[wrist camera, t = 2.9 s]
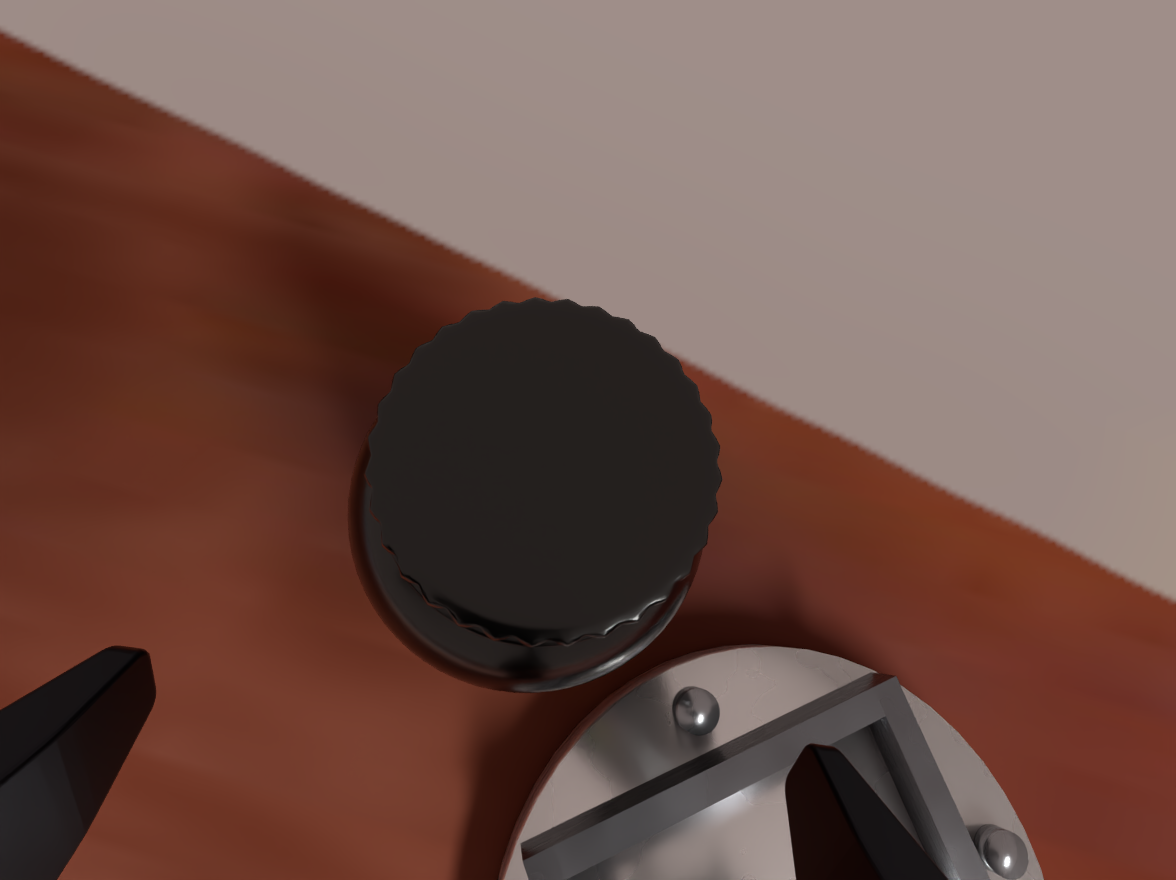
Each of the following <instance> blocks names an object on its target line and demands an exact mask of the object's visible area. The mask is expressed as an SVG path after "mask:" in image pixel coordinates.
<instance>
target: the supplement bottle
mask: <svg viewBox="0 0 1176 880" xmlns="http://www.w3.org/2000/svg"><path fill="white" fill-rule="evenodd" d="M377 416H378V417H377V418H376V420H375V422H374V423H373V425H372V427H371V428H370V430H369V432H368V434H367V436H366V438H365V440H364V442H363V444H362V447H361V449H360V452H359V455H358V458H357V460H356V463H355V467H354V471H353V475H352V479H351V485H350V492H349V499H348V530H349V540H350V546H351V552H352V556H353V560H354V563H355V567H356V570H357V574H358V576H359V579H360V581H361V584H362V586H363V589H364V591H365V593H366V595H367V596H368V598H369V600H370V602H371V604H372V606H373V607H374V609H375V610H376V612H377V613H378V615H379V616H380V618H381V619H382V621H383V622H384V623H385V625H386V626H387V627H388V628H389V629H390V631H391V632H392V633H393V634H394V635H395V637H396V638H398V639H399V640H400V641H401V642H402V643H403V644H404V645H405V646H406V647H407V648H408V649H409V650H410V651H412V652H413V653H414V654H415V655H417V656H418V657H419V658H421V659H422V660H423V661H425V662H426V663H428V664H429V665H431V666H433V667H434V668H436V669H438V670H439V671H441V672H443V673H445V674H447V675H449V676H452V677H454V678H456V679H458V680H461V681H464V682H466V683H469V684H472V685H475V686H479V687H483V688H487V689H492V690H497V691H505V692H513V693H537V692H549V691H555V690H560V689H566V688H570V687H574V686H577V685H580V684H584V683H587V682H589V681H592V680H594V679H597V678H599V677H601V676H604V675H606V674H608V673H609V672H611V671H613V670H615V669H617V668H619V667H620V666H622V665H623V664H625V663H626V662H628V661H629V660H631V659H632V658H634V657H635V656H636V655H638V654H639V653H640V652H641V651H642V650H643V649H645V648H646V647H647V646H648V645H649V644H650V643H651V642H652V641H653V640H654V639H655V638H656V637H657V636H658V635H659V634H660V633H661V632H662V631H663V630H664V628H665V627H666V626H667V624H668V623H669V622H670V621H671V619H672V618H673V617H674V615H675V614H676V612H677V610H678V609H679V607H680V606H681V604H682V603H683V601H684V599H685V597H686V595H687V593H688V591H689V589H690V587H691V585H692V582H693V580H694V577H695V575H696V572H697V569H698V566H699V562H700V559H701V555H702V550H703V548H704V547H705V546H706V545H707V540H708V525H709V524H710V523H711V522H712V520H713V519H714V518H715V516H716V514H717V513H718V507H717V501H716V493H717V491H718V489H719V487H720V484H721V482H722V476H721V472H720V469H719V467H718V464H717V458H718V456H719V451H720V445H719V443H718V441H717V439H716V437H715V436H714V434H713V433H712V431H711V425H712V417H711V414H710V412H709V411H708V410H707V408H706V407H705V406H704V405H703V404H702V403H701V402H700V395H699V391H698V387H697V385H696V384H695V383H694V382H693V381H692V380H691V379H689V378H688V377H687V376H686V375H684V373H683V370H682V366H681V364H680V362H679V360H678V359H677V358H675V357H674V356H672V355H670V354H669V353H667V352H665V351H664V350H663V349H662V347H661V345H660V343H659V342H658V340H657V339H656V338H655V337H653V336H651V335H649V334H646V333H643V332H640V331H639V330H638V329H636V327H635V325H634V324H633V323H632V322H631V321H630V320H629V319H624V318H619V317H613V316H611V315H610V314H609V313H607V312H606V311H605V310H603V309H602V308H600V307H595V306H587V307H585V306H584V307H583V306H580V305H578V304H577V303H575V302H573V301H571V300H569V299H565V300H558V301H554V302H550V301H546V300H544V299H540V298H536V297H535V298H531V299H528V300H526V301H524V302H521V303H514V302H508V301H502V302H500V303H499V304H497V305H495V306H494V307H492V308H491V309H489V310H476V311H471V312H470V313H468V314H467V315H466V316H465V317H464V318H463V319H462V320H461V321H460V322H458V323H455V324H449V325H446V326H443V327H442V328H441V329H440V330H439V331H438V333H437V334H436V336H435V337H434V339H433V340H432V341H429V342H427V343H425V344H423V345H421V346H419V347H417V348H416V349H415V351H414V353H413V355H412V358H411V360H410V363H409V364H408V365H407V366H405V367H403V368H401V369H400V370H399V371H398V372H396V373H395V374H394V377H393V381H392V387H391V391H390V392H389V394H388V395H386V396H385V397H384V398H383V399H382V400H381V401H380V403H379V404H378V410H377Z"/></svg>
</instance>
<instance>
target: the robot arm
mask: <svg viewBox="0 0 1176 880" xmlns="http://www.w3.org/2000/svg"><path fill="white" fill-rule="evenodd" d="M155 698H156V686H155V680H154V675H153V670H152V664H151V659H150V655H149V653H148V652H147V651H146V650H144V649H140V648H133V647H126V646H111V647H108V648H105V649H104V650H102V651H100V652H98V653H96V654H95V655H93V656H91V657H90V658H88V659H86V660H85V661H83V662H81V663H79V664H78V665H76V666H74V667H73V668H71V669H69V670H68V671H66V672H64V673H62V674H61V675H59V676H57V677H56V678H54V679H52V680H51V681H49V682H47V683H45V684H44V685H42V686H40V687H39V688H37V689H35V690H34V691H32V692H30V693H28V694H27V695H25V696H23V697H22V698H20V699H18V700H17V701H15V702H13V703H11V704H10V705H8V706H6V707H5V708H3V709H1V710H0V880H57V879H58V877H59V876H60V874H61V872H62V871H63V869H64V868H65V866H66V865H67V863H68V862H69V860H70V859H71V857H72V855H73V854H74V852H75V851H76V849H77V847H78V846H79V844H80V843H81V841H82V839H83V838H84V836H85V834H86V833H87V831H88V829H89V827H90V826H91V824H92V822H93V820H94V818H95V817H96V815H97V813H98V811H99V809H100V807H101V805H102V803H103V802H104V800H105V798H106V796H107V794H108V792H109V790H110V788H111V786H112V784H113V782H114V781H115V779H116V777H117V775H118V773H119V771H120V769H121V767H122V765H123V763H124V761H125V760H126V758H127V756H128V754H129V752H130V750H131V748H132V746H133V744H134V742H135V740H136V739H137V737H138V735H139V733H140V731H141V729H142V727H143V725H144V723H145V721H146V719H147V718H148V716H149V714H150V712H151V710H152V707H153V705H154V702H155ZM785 798H786V806H787V813H788V821H789V829H790V837H791V845H792V853H793V861H794V868H795V876H796V880H948V878H947V877H946V876H945V875H944V874H943V872H942V871H941V870H940V869H939V868H938V866H937V865H936V864H935V863H934V862H933V861H932V859H931V858H930V857H929V856H928V855H927V853H926V852H925V851H924V850H923V849H922V847H921V846H920V845H919V844H918V843H917V841H916V840H915V839H914V838H913V837H912V836H911V834H910V833H909V832H908V831H907V830H906V828H905V827H904V826H903V825H902V824H901V822H900V821H899V820H898V819H897V818H896V816H895V815H894V814H893V813H892V812H891V810H890V809H889V808H888V807H887V806H886V805H885V803H884V802H883V801H882V800H881V799H880V797H879V796H878V795H877V794H876V793H875V791H874V790H873V789H872V788H871V787H870V785H869V784H868V783H867V782H866V781H865V780H864V778H863V777H862V776H861V775H860V774H859V772H858V771H857V770H856V769H855V768H854V766H853V765H852V764H851V763H850V762H849V760H848V759H847V758H846V757H845V756H844V755H843V753H842V752H841V751H839V750H838V749H837V748H835V747H833V746H828V745H821V744H814V743H810V744H808V745H806V746H805V747H804V748H803V750H802V752H801V753H800V755H799V757H798V758H797V760H796V761H795V763H794V765H793V766H792V768H791V770H790V771H789V773H788V775H787V778H786V782H785Z"/></svg>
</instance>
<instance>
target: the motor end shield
mask: <svg viewBox="0 0 1176 880" xmlns="http://www.w3.org/2000/svg"><path fill="white" fill-rule="evenodd" d="M810 743H814V744H821V745H828V746H833V747H835V748H837V749H838V750H839V751H841V752H842V753H843V755H844V756H845V757H846V758H847V759H848V760H849V762H850V763H851V764H852V765H853V766H854V768H855V769H856V770H857V771H858V772H859V774H860V775H861V776H862V777H863V778H864V780H865V781H866V782H867V783H868V784H869V785H870V787H871V788H872V789H873V790H874V791H875V793H876V794H877V795H878V796H879V797H880V799H881V800H882V801H883V802H884V803H885V805H886V806H887V807H888V808H889V809H890V810H891V812H892V813H893V814H894V815H895V816H896V818H897V819H898V820H899V821H900V822H901V824H902V825H903V826H904V827H905V828H906V830H907V831H908V832H909V833H910V834H911V836H912V837H913V838H914V839H915V840H916V841H917V843H918V844H919V845H920V846H921V847H922V849H923V850H924V851H925V852H926V853H927V855H928V856H929V857H930V858H931V859H932V861H933V862H934V863H935V864H936V865H937V866H938V868H939V869H940V870H941V871H942V872H943V874H944V875H945V876H946V877H947V878H948V880H1044V878H1043V875H1042V872H1041V868H1040V866H1039V863H1038V861H1037V859H1036V856H1035V854H1034V851H1033V849H1032V847H1031V844H1030V842H1029V840H1028V837H1027V835H1026V832H1025V830H1024V828H1023V826H1022V824H1021V822H1020V821H1019V819H1018V817H1017V815H1016V813H1015V811H1014V810H1013V808H1012V806H1011V804H1010V802H1009V800H1008V799H1007V797H1006V795H1005V793H1004V792H1003V790H1002V789H1001V787H1000V786H999V784H998V783H997V781H996V780H995V778H994V777H993V776H992V774H991V773H990V771H989V770H988V768H987V767H986V765H985V764H984V762H983V761H982V760H981V759H980V757H979V756H978V755H977V754H976V753H975V752H974V750H973V749H972V748H971V747H970V746H969V745H968V743H967V742H966V741H965V740H964V739H963V738H962V736H961V735H960V734H959V733H958V732H957V731H956V730H955V729H954V728H953V727H952V726H951V725H950V724H949V723H947V722H946V721H945V720H944V719H943V718H942V717H941V716H940V715H939V714H938V713H937V712H936V711H934V710H933V709H932V708H931V707H930V706H929V705H927V704H926V703H925V702H923V701H922V700H920V699H919V698H918V697H916V696H915V695H914V694H912V693H911V692H909V691H908V690H907V689H905V688H904V687H902V686H901V685H900V683H899V681H898V679H897V677H896V676H893V675H886V674H880V673H877V672H875V671H874V670H872V669H869V668H867V667H864V666H861V665H859V664H856V663H854V662H851V661H849V660H846V659H843V658H841V657H837V656H833V655H828V654H824V653H820V652H816V651H812V650H807V649H798V648H790V647H780V646H769V645H758V644H749V645H731V646H720V647H716V648H711V649H706V650H701V651H696V652H692V653H689V654H686V655H683V656H680V657H678V658H675V659H672V660H669V661H667V662H664V663H661V664H659V665H658V666H656V667H654V668H652V669H650V670H648V671H646V672H644V673H642V674H641V675H639V676H637V677H635V678H633V679H632V680H630V681H629V682H627V683H626V684H625V685H623V686H622V687H620V688H619V689H618V690H616V691H615V692H613V693H612V694H611V695H609V696H608V697H607V698H605V699H604V700H603V701H602V702H601V703H600V704H599V705H598V706H597V707H595V708H594V709H593V710H592V711H591V712H590V713H589V714H588V715H587V716H586V717H585V718H584V719H583V720H582V721H581V722H580V723H579V724H578V725H577V726H576V727H575V728H574V730H573V731H572V732H571V733H570V734H569V736H568V737H567V738H566V739H565V741H564V742H563V743H562V744H561V745H560V747H559V748H558V749H557V750H556V751H555V753H554V754H553V756H552V757H551V759H550V761H549V762H548V764H547V765H546V767H545V768H544V770H543V772H542V773H541V775H540V776H539V778H538V779H537V781H536V783H535V784H534V786H533V788H532V790H531V792H530V794H529V796H528V798H527V800H526V802H525V804H524V806H523V809H522V811H521V813H520V815H519V817H518V819H517V821H516V823H515V826H514V829H513V832H512V834H511V837H510V840H509V843H508V846H507V849H506V852H505V855H504V857H503V860H502V863H501V867H500V872H499V876H498V880H796V876H795V868H794V861H793V853H792V845H791V837H790V829H789V821H788V813H787V806H786V798H785V782H786V778H787V775H788V773H789V771H790V770H791V768H792V766H793V765H794V763H795V761H796V760H797V758H798V757H799V755H800V753H801V752H802V750H803V748H804V747H805V746H806V745H808V744H810Z"/></svg>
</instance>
